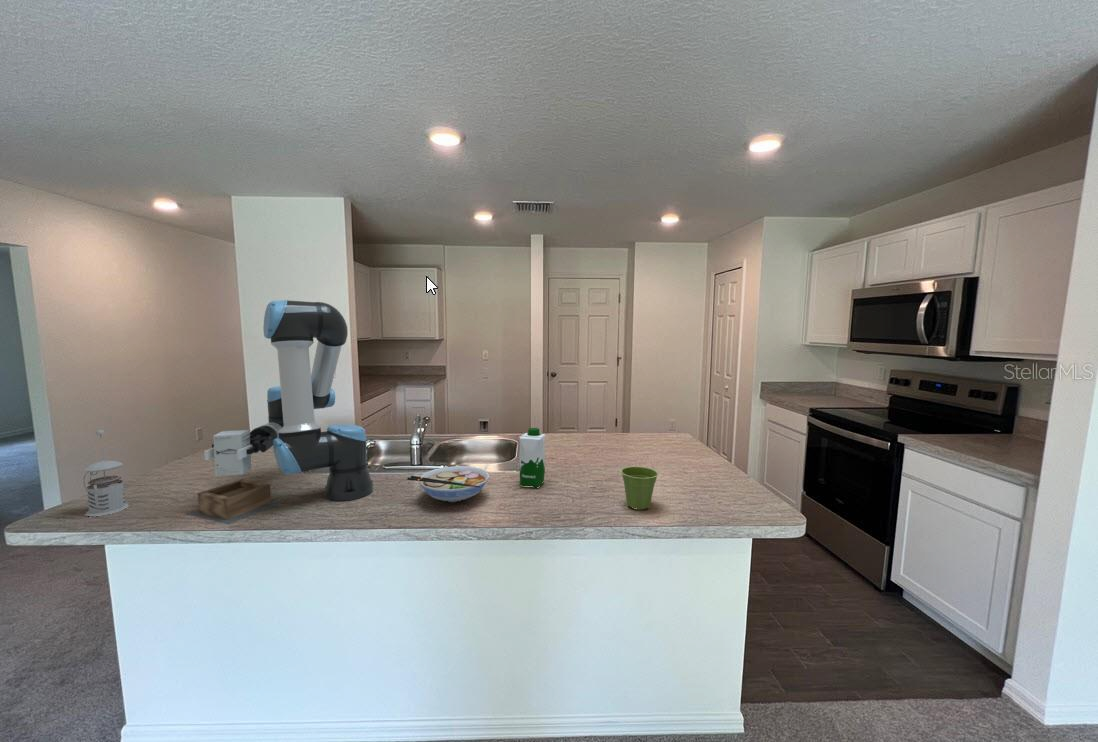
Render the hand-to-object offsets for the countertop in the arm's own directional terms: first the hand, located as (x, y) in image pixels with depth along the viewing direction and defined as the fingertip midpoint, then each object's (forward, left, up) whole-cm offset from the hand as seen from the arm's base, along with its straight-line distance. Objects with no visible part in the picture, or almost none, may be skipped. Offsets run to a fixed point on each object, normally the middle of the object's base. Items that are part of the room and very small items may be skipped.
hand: (222, 455), depth 127 cm
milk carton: (-75, -57, -19) cm, 96 cm away
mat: (+2, -4, -18) cm, 19 cm away
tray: (+2, -4, -18) cm, 18 cm away
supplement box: (+2, -4, -7) cm, 9 cm away
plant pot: (-114, -52, -19) cm, 127 cm away
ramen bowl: (-56, -36, -19) cm, 69 cm away
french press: (+38, +11, -19) cm, 43 cm away
